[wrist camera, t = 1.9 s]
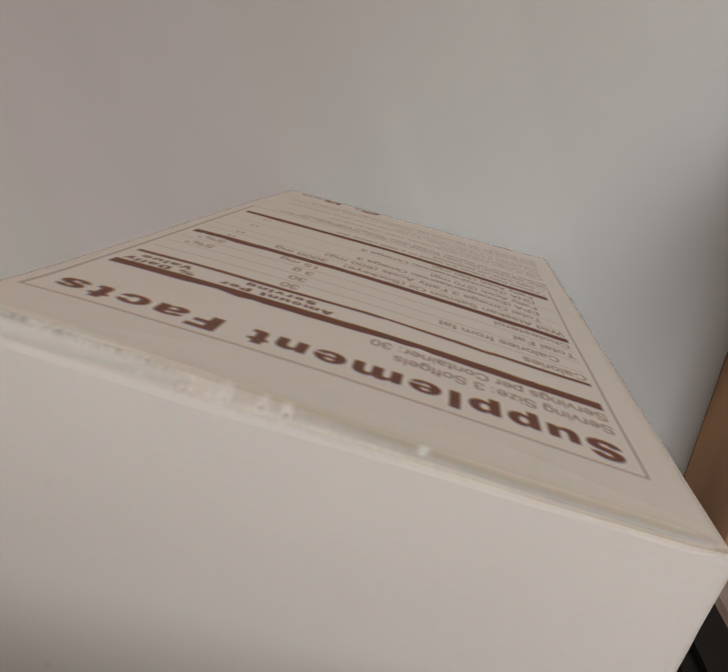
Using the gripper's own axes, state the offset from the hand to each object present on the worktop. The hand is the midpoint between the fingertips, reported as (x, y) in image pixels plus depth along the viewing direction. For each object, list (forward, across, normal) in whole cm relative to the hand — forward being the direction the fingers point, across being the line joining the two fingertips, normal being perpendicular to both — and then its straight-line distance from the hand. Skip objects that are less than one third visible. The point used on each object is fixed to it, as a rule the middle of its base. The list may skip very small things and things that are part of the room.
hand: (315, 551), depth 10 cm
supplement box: (+9, 0, -1) cm, 9 cm away
